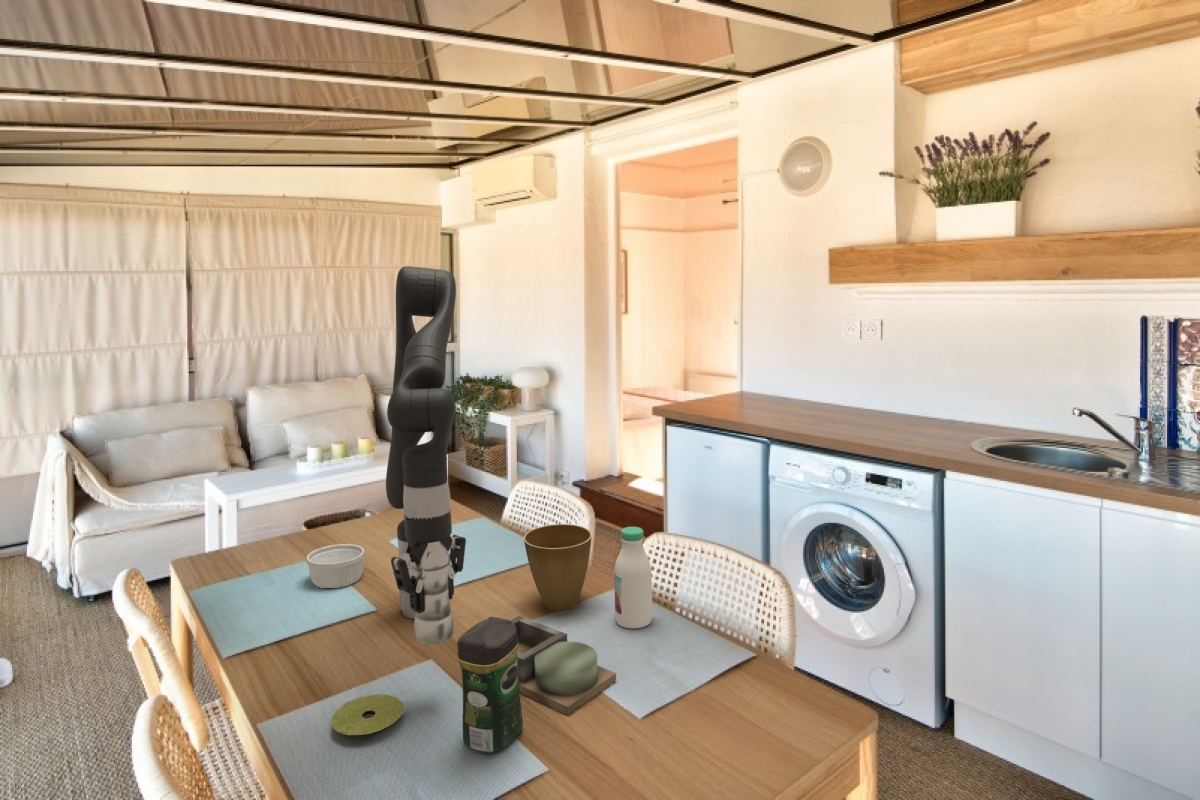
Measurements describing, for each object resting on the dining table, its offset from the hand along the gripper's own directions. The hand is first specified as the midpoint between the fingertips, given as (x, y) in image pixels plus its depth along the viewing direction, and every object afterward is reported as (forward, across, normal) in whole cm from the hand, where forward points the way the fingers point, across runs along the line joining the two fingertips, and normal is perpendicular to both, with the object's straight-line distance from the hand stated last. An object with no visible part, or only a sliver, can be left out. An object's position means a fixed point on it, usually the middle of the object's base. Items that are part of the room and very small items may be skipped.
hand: (432, 604), depth 121 cm
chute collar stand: (+17, -16, +9) cm, 25 cm away
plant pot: (+18, -40, -8) cm, 44 cm away
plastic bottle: (+7, 0, 0) cm, 7 cm away
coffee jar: (+17, +2, +16) cm, 23 cm away
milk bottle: (+17, -43, +10) cm, 48 cm away
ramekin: (+18, -18, -61) cm, 66 cm away
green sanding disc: (+17, +12, -3) cm, 21 cm away
